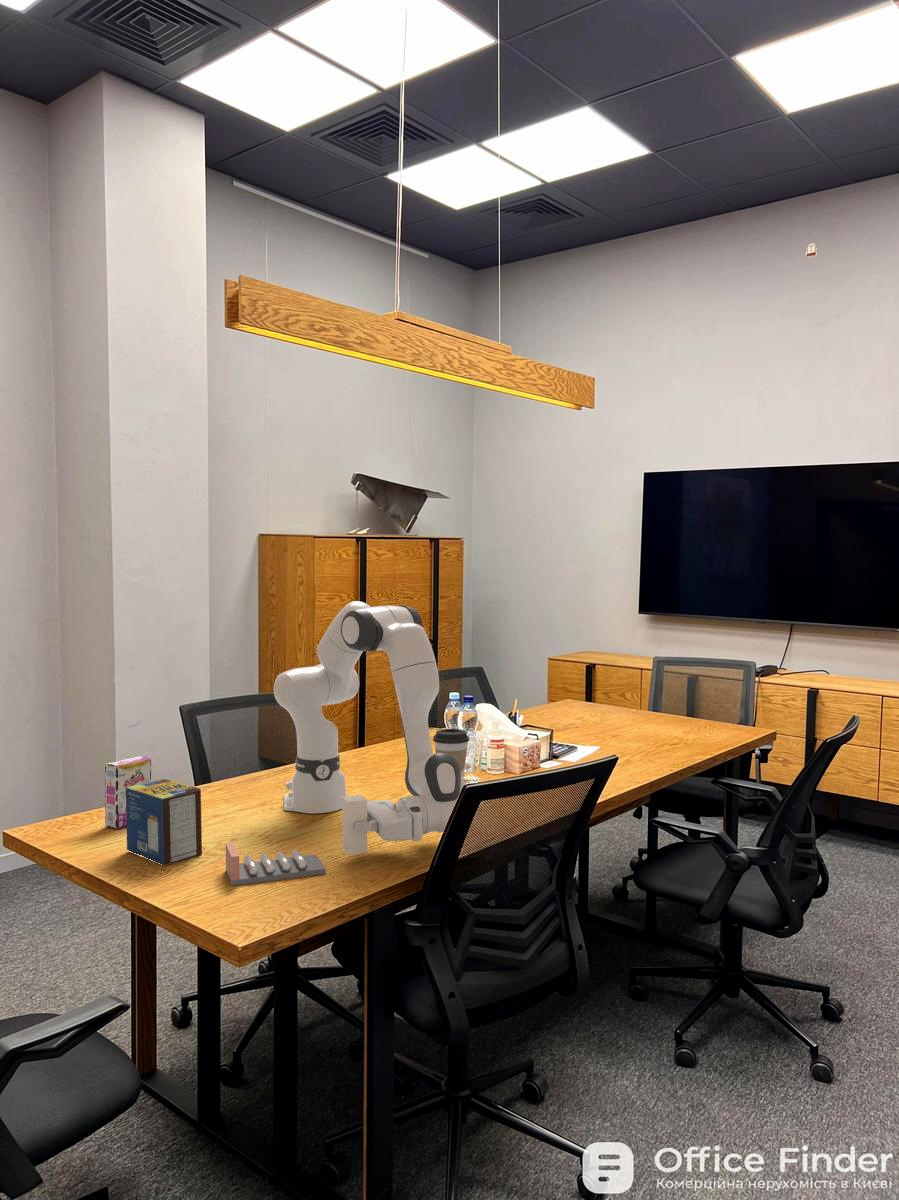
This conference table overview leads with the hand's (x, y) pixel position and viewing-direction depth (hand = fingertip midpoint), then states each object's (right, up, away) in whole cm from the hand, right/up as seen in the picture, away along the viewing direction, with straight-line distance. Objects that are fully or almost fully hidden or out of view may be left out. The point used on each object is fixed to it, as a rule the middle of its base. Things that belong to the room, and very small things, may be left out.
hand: (350, 822), depth 202 cm
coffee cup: (+23, -6, +75) cm, 79 cm away
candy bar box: (-61, -8, +31) cm, 68 cm away
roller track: (-16, -9, -6) cm, 19 cm away
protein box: (-44, -9, +7) cm, 46 cm away
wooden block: (+1, -6, +1) cm, 7 cm away
